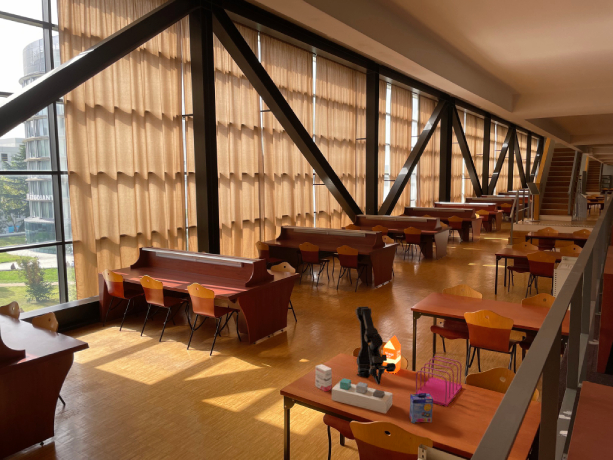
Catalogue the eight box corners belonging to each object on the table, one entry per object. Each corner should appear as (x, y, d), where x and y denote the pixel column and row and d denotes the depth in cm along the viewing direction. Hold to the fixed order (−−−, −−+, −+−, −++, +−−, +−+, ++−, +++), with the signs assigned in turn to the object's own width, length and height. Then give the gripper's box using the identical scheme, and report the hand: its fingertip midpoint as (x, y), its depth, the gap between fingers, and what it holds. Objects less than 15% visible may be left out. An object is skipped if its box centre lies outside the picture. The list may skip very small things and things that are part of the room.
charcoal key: (375, 396, 243) (376, 389, 243) (384, 398, 241) (384, 391, 241) (372, 400, 240) (373, 393, 239) (381, 402, 238) (381, 395, 237)
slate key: (359, 389, 247) (359, 381, 247) (367, 391, 245) (367, 383, 245) (356, 392, 243) (356, 385, 243) (364, 394, 241) (364, 387, 241)
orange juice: (400, 368, 284) (401, 336, 281) (395, 374, 277) (395, 341, 274) (388, 365, 288) (388, 333, 285) (382, 371, 281) (383, 338, 278)
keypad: (339, 391, 256) (339, 381, 255) (392, 404, 243) (392, 393, 242) (331, 399, 247) (331, 388, 247) (385, 413, 234) (386, 402, 233)
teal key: (343, 385, 251) (343, 378, 251) (351, 387, 249) (351, 379, 249) (339, 388, 248) (339, 381, 247) (347, 390, 246) (347, 383, 245)
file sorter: (413, 397, 250) (414, 369, 247) (431, 379, 270) (432, 353, 268) (446, 407, 240) (448, 377, 238) (462, 387, 260) (463, 360, 258)
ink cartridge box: (412, 423, 225) (413, 394, 223) (408, 417, 231) (409, 389, 228) (432, 422, 226) (433, 393, 224) (428, 416, 231) (429, 388, 229)
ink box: (332, 389, 259) (332, 368, 257) (325, 392, 256) (325, 371, 254) (321, 383, 265) (321, 363, 264) (314, 386, 262) (314, 365, 261)
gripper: (358, 349, 241) (362, 379, 232) (395, 347, 243) (400, 378, 233) (356, 357, 250) (359, 387, 241) (391, 356, 252) (396, 386, 242)
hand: (378, 384), depth 239 cm, fingers closed
